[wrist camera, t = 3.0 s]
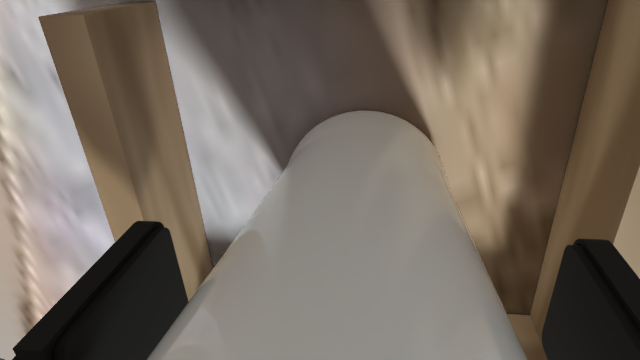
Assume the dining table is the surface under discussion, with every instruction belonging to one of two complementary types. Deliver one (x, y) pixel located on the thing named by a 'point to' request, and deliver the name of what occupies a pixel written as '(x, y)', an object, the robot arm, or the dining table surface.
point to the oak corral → (176, 174)
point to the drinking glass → (350, 262)
